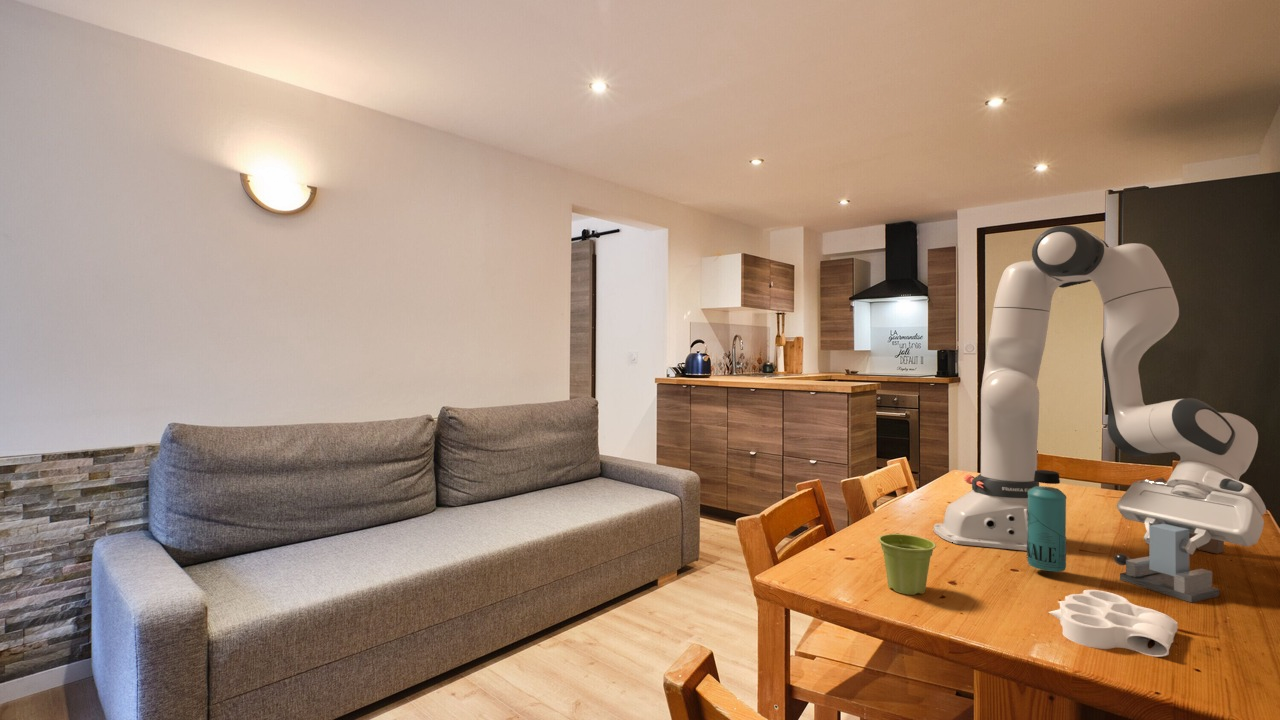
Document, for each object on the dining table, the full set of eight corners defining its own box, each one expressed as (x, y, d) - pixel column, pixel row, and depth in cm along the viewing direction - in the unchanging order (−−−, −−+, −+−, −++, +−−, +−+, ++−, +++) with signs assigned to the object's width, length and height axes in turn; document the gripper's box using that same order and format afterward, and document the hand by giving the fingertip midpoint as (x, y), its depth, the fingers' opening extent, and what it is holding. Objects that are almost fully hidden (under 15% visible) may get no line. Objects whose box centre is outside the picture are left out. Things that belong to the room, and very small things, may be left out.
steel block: (1175, 576, 105) (1175, 531, 105) (1149, 569, 109) (1149, 525, 109) (1189, 573, 106) (1189, 529, 106) (1163, 566, 110) (1162, 523, 110)
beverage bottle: (1060, 569, 116) (1060, 468, 116) (1072, 582, 110) (1072, 475, 110) (1022, 566, 119) (1022, 466, 118) (1031, 577, 112) (1032, 472, 112)
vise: (1191, 602, 101) (1191, 579, 101) (1119, 579, 111) (1120, 558, 111) (1219, 596, 104) (1219, 573, 104) (1146, 574, 114) (1147, 553, 114)
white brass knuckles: (1164, 672, 80) (1037, 634, 90) (1180, 630, 92) (1066, 601, 102) (1165, 647, 79) (1037, 612, 90) (1180, 608, 92) (1066, 582, 102)
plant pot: (881, 576, 113) (881, 530, 113) (936, 584, 109) (936, 537, 109) (875, 593, 105) (875, 544, 105) (934, 603, 101) (935, 552, 101)
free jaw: (1134, 577, 109) (1135, 563, 109) (1101, 566, 114) (1101, 553, 114) (1162, 571, 112) (1162, 557, 112) (1128, 561, 117) (1128, 548, 117)
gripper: (1129, 467, 120) (1097, 521, 116) (1264, 488, 100) (1231, 552, 97) (1143, 488, 121) (1112, 541, 118) (1279, 512, 102) (1246, 576, 99)
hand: (1166, 546), depth 107 cm, fingers closed on steel block, 4 cm apart
